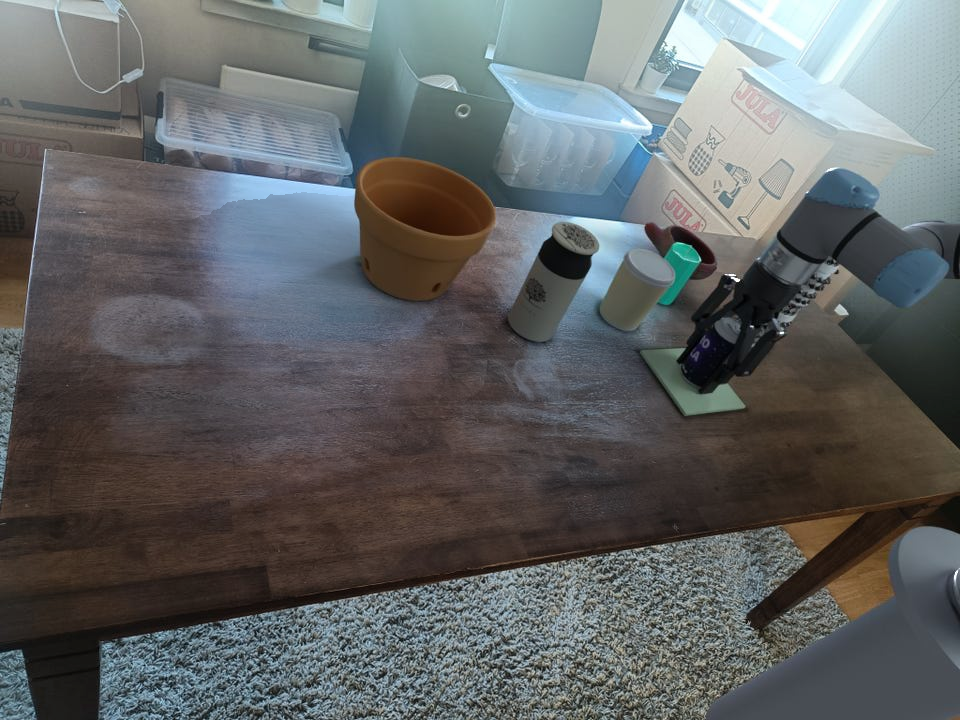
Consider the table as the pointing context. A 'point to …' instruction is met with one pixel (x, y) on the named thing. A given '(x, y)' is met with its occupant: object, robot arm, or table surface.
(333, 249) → the table surface
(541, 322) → the travel mug
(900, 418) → the table surface
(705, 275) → the bowl
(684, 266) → the candle
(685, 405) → the mat
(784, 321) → the decorative candle
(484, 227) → the flower pot
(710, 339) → the beverage can
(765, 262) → the robot arm
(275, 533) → the table surface
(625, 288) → the cream lidded canister
